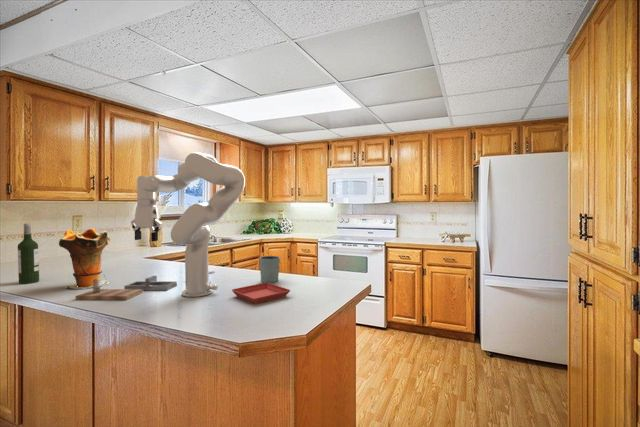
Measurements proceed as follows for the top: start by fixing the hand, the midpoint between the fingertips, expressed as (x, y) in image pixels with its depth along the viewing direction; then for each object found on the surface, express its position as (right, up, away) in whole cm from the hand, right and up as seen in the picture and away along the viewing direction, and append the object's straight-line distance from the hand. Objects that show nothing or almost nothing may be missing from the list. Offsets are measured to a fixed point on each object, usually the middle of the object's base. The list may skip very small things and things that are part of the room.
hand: (146, 240), depth 153 cm
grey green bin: (+55, -22, +15) cm, 61 cm away
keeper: (-10, -23, -10) cm, 27 cm away
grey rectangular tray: (+1, -23, +3) cm, 23 cm away
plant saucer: (+55, -23, -13) cm, 61 cm away
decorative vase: (-34, -23, +10) cm, 42 cm away
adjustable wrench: (+14, -22, +27) cm, 38 cm away
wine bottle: (-69, -23, +17) cm, 74 cm away
